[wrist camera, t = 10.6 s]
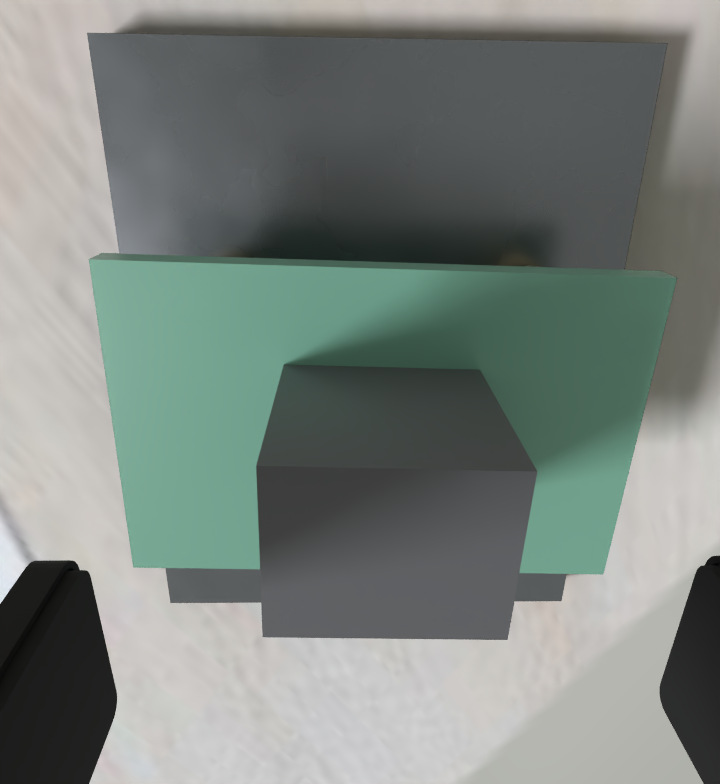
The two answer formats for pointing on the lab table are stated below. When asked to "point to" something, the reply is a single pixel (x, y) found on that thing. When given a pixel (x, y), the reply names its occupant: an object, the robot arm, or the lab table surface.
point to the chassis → (373, 162)
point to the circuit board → (361, 315)
